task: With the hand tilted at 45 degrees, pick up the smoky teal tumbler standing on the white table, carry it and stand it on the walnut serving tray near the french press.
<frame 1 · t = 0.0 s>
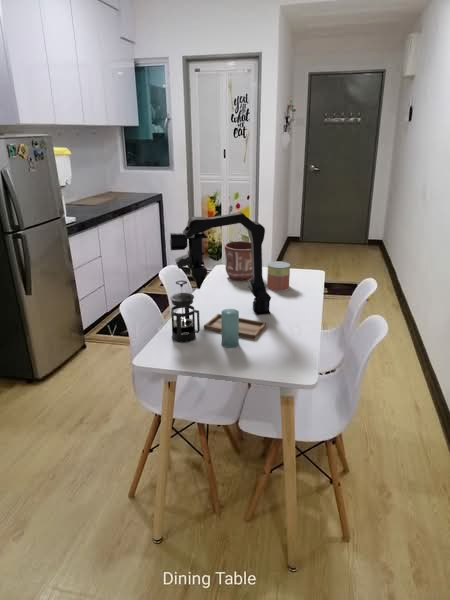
hand: (197, 285, 182), 15 cm above the table, tool pointing down, fingers open, 9 cm apart
pottery: (240, 277, 236), on the table
tray: (235, 328, 177), on the table
french press: (185, 337, 169), on the table
canned food: (277, 287, 222), on the table
tumbler: (230, 343, 164), on the table
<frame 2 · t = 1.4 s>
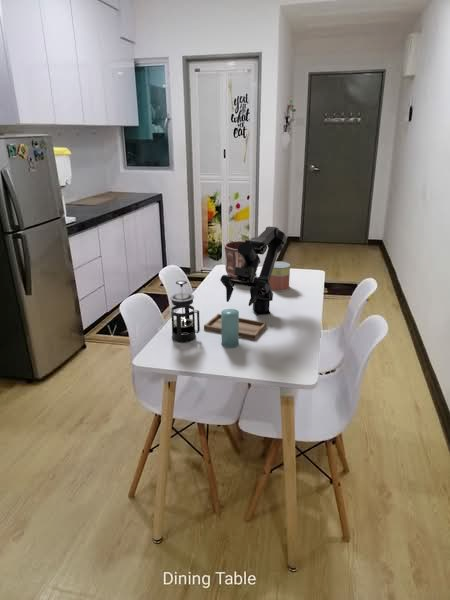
hand: (238, 303, 166), 13 cm above the table, tool tilted 45°, fingers open, 9 cm apart
nothing on the table moved.
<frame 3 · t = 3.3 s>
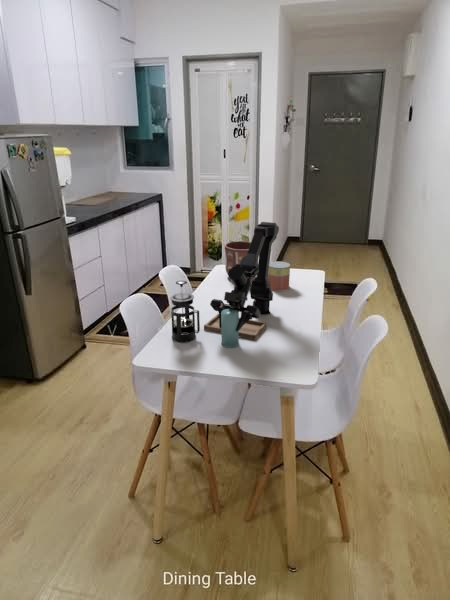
hand: (228, 329, 160), 7 cm above the table, tool tilted 45°, fingers closed on tumbler, 6 cm apart
tumbler: (230, 343, 164), on the table, touching gripper
everything else where it was.
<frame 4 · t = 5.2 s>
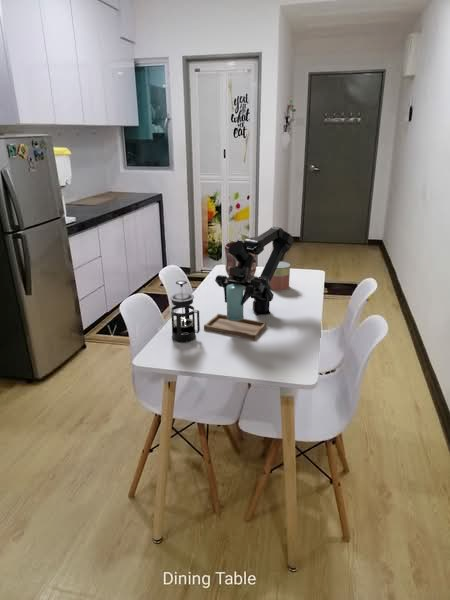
hand: (233, 303, 167), 13 cm above the table, tool tilted 45°, fingers closed on tumbler, 6 cm apart
tumbler: (235, 317, 171), point 6 cm above the table, touching gripper
everything else where it was.
when the fingers open (9 cm above the table, at t = 6.9 s): tumbler drops 1 cm, resting on tray.
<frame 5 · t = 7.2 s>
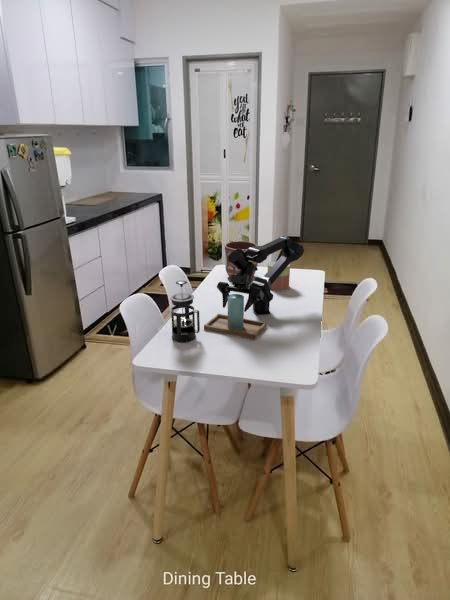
hand: (234, 309, 172), 9 cm above the table, tool tilted 45°, fingers open, 9 cm apart
tumbler: (235, 326, 177), point 1 cm above the table, touching tray
everything else where it was.
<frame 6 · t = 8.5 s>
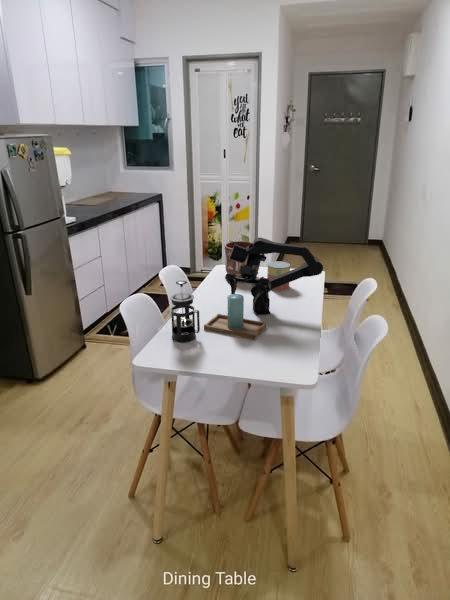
hand: (242, 299, 177), 10 cm above the table, tool tilted 45°, fingers open, 9 cm apart
nothing on the table moved.
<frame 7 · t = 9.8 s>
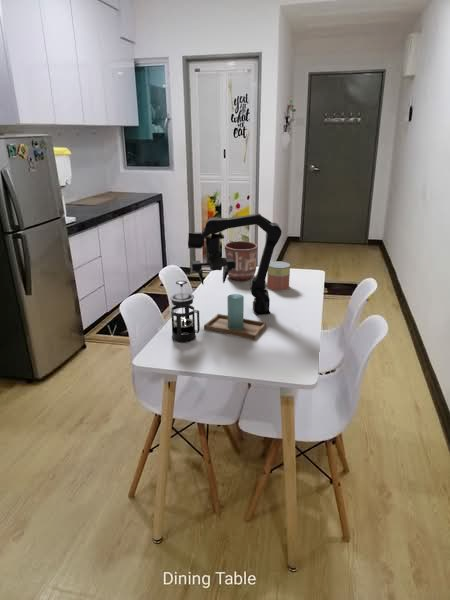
hand: (213, 283, 188), 13 cm above the table, tool pointing down, fingers open, 9 cm apart
nothing on the table moved.
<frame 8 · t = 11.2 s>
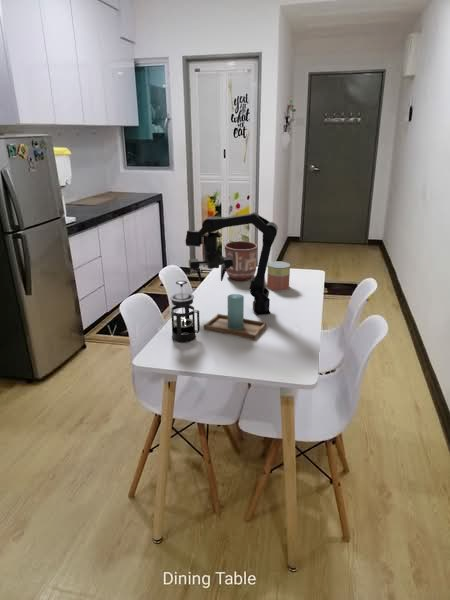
hand: (211, 281, 191), 13 cm above the table, tool pointing down, fingers open, 9 cm apart
nothing on the table moved.
at the end: tumbler inside the target area on the tray (0.1 cm from its centre), point 0.6 cm above the tray's base; tumbler tilted 0°; the gripper is holding nothing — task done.
